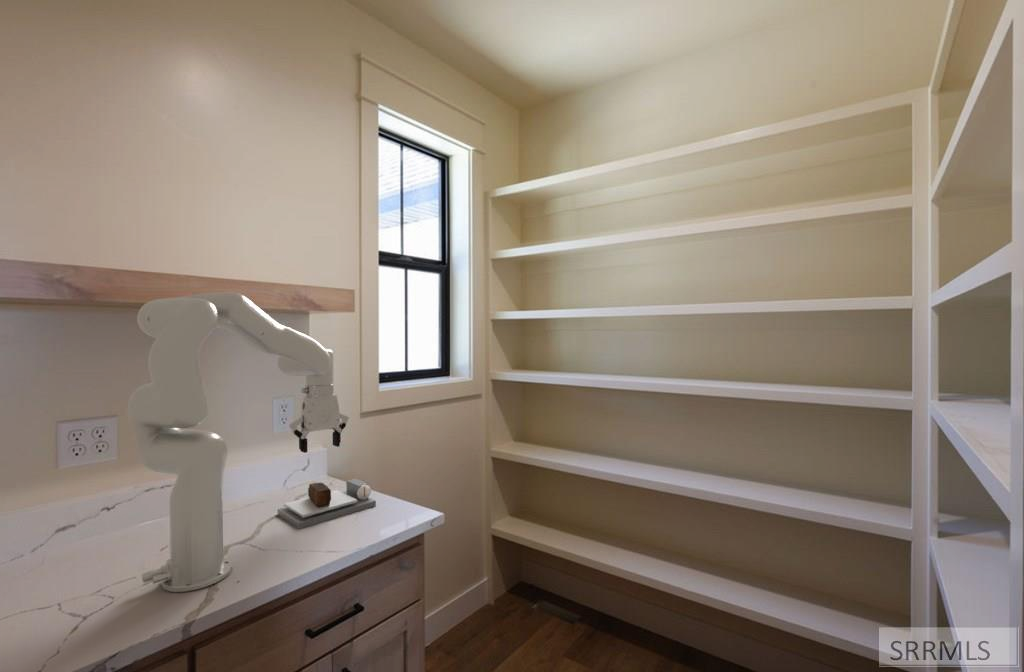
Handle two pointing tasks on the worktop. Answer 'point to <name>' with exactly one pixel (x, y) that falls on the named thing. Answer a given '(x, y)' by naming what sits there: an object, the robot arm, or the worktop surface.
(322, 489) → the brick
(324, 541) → the worktop surface
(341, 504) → the scale
